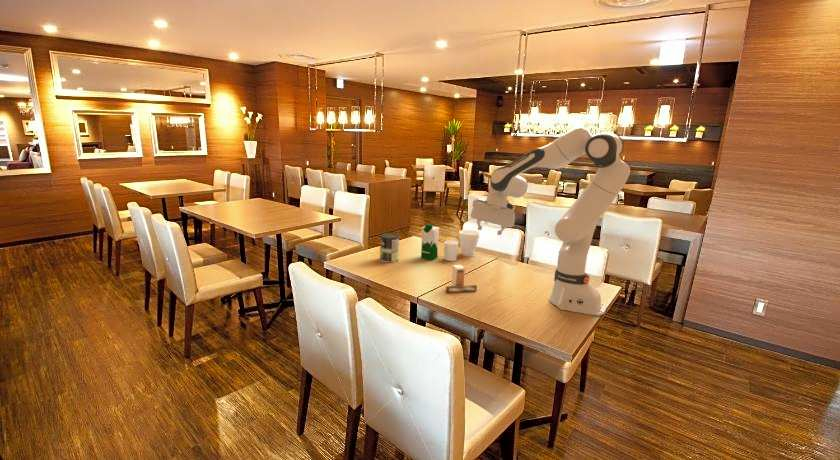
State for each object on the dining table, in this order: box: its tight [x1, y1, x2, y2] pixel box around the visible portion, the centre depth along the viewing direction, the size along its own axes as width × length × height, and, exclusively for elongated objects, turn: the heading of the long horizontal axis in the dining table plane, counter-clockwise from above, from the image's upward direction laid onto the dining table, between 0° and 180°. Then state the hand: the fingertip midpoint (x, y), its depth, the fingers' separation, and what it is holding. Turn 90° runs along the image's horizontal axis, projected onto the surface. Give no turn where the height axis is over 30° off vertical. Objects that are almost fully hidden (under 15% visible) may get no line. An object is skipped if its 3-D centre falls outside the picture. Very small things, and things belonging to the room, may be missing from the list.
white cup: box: [443, 240, 459, 262], centre depth 218 cm, size 8×8×10 cm
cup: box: [458, 229, 480, 257], centre depth 228 cm, size 12×12×14 cm
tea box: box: [451, 264, 466, 286], centre depth 177 cm, size 5×4×10 cm
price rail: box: [445, 284, 478, 294], centre depth 173 cm, size 14×2×2 cm, turn 104°
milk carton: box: [420, 223, 440, 261], centre depth 218 cm, size 9×9×20 cm
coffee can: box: [379, 232, 400, 263], centre depth 213 cm, size 10×10×14 cm
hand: (489, 232), depth 176 cm, fingers open, 8 cm apart
